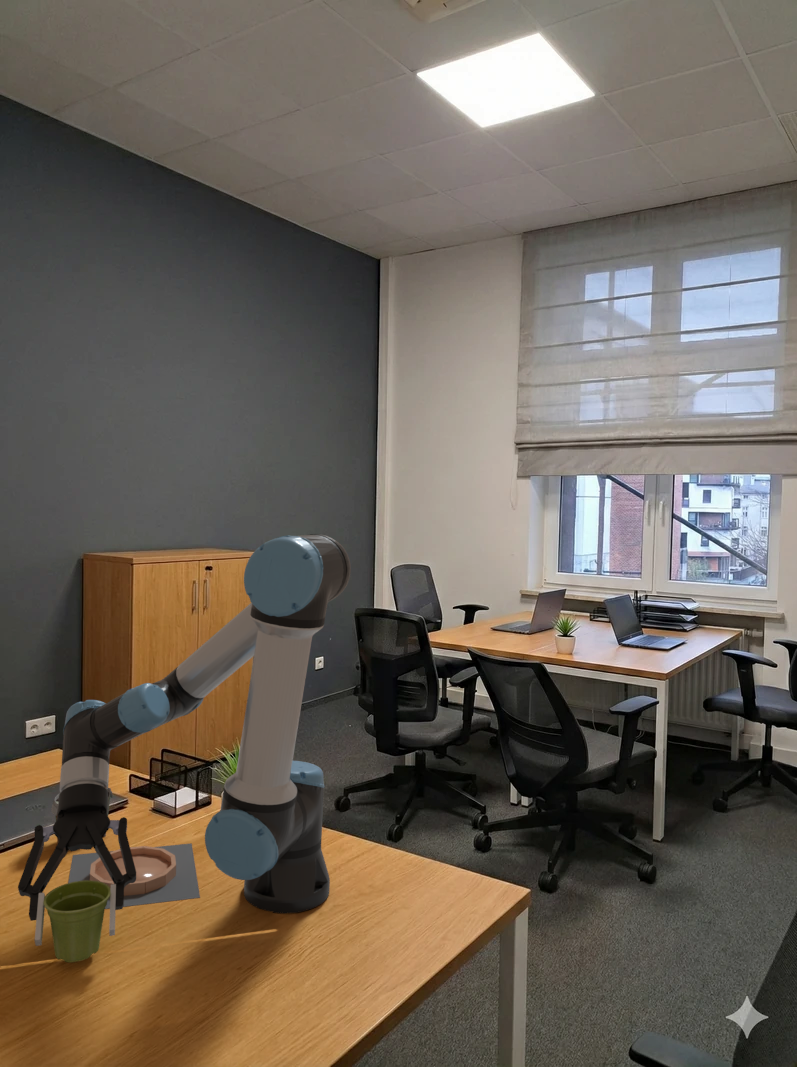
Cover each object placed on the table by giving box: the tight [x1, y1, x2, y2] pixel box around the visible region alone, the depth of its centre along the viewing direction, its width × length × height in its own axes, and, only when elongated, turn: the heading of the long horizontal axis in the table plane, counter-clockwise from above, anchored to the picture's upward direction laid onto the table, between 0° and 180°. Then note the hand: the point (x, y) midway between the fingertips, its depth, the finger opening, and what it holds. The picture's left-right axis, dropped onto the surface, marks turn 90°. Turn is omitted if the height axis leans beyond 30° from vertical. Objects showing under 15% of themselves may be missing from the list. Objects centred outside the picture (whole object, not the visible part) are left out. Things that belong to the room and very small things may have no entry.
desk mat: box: [67, 843, 201, 910], centre depth 143 cm, size 22×22×1 cm
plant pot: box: [43, 880, 111, 963], centre depth 118 cm, size 9×9×9 cm
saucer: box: [90, 845, 176, 896], centre depth 143 cm, size 15×15×2 cm
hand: (75, 937), depth 115 cm, fingers closed on plant pot, 9 cm apart
